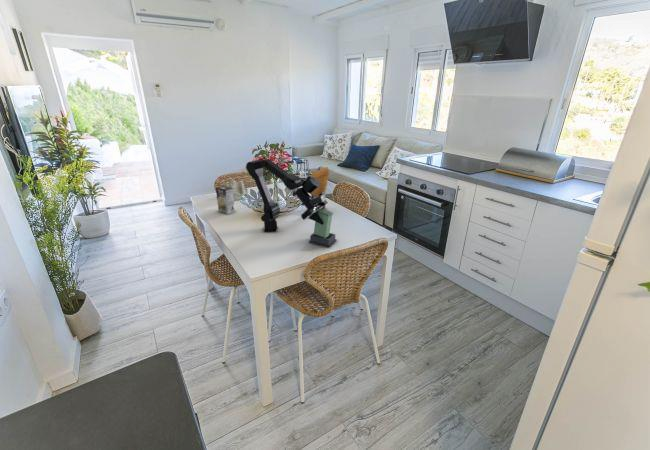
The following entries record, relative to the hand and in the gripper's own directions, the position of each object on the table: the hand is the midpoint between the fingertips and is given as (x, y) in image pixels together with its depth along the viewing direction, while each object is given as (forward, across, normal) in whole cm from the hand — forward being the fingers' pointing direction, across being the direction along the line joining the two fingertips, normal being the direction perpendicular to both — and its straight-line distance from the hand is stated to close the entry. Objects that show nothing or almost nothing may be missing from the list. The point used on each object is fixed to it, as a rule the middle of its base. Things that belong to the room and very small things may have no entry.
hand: (325, 222), depth 158 cm
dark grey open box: (+7, 0, +9) cm, 11 cm away
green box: (+4, 0, +6) cm, 7 cm away
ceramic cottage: (-56, +36, +72) cm, 98 cm away
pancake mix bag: (-9, +38, +25) cm, 46 cm away
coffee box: (-45, +10, +62) cm, 77 cm away
